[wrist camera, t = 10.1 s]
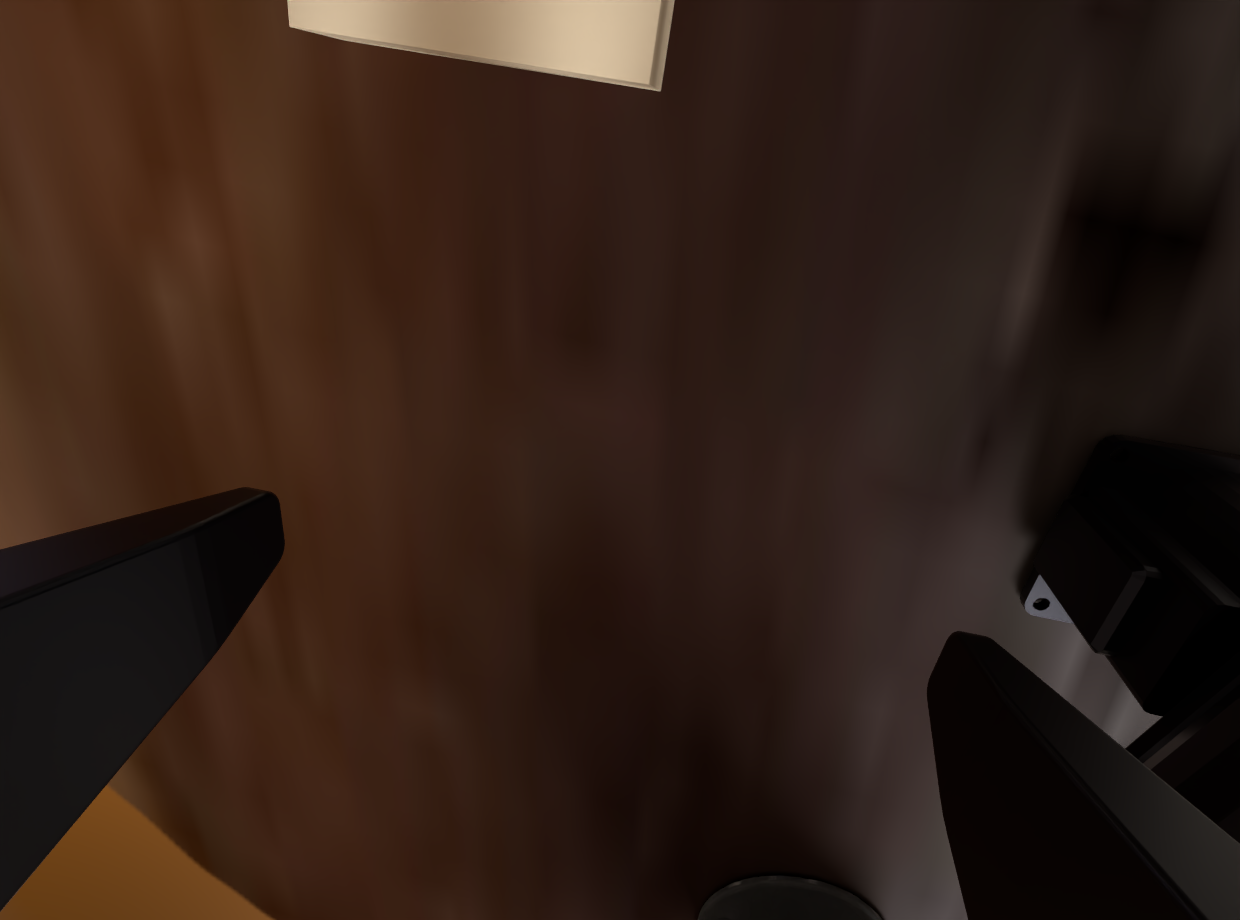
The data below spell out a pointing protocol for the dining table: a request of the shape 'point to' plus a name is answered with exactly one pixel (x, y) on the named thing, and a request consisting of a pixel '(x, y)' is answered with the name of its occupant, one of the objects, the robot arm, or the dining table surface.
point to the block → (510, 33)
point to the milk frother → (784, 901)
